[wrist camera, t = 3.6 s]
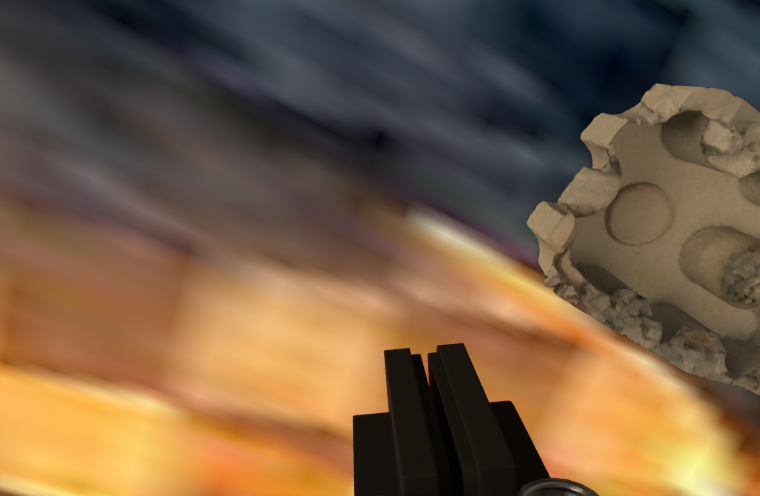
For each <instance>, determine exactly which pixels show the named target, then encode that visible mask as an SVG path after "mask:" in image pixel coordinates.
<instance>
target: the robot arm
mask: <svg viewBox="0 0 760 496" xmlns="http://www.w3.org/2000/svg"><path fill="white" fill-rule="evenodd" d="M384 357H385V370H386V383H387V395H388V408H389V412H385V413H375V414H365V415H354V416H353V451H354V496H599V495H598V494H597V493H596V492H595V491H593V490H591V489H590V488H588V487H586V486H584V485H583V484H580V483H577V482H574V481H571V480H568V479H560V478H550V476H549V474H548V472H547V470H546V468H545V466H544V464H543V462H542V460H541V458H540V456H539V454H538V452H537V450H536V448H535V446H534V444H533V442H532V440H531V438H530V436H529V434H528V432H527V430H526V428H525V426H524V424H523V422H522V420H521V418H520V416H519V414H518V412H517V410H516V408H515V406H514V405H513V403H512V402H511V401H499V402H489V401H488V399H487V396H486V394H485V392H484V389H483V387H482V385H481V383H480V380H479V378H478V376H477V373H476V371H475V369H474V366H473V364H472V362H471V360H470V357H469V355H468V353H467V350H466V348H465V346H464V344H463V343H458V344H448V345H437V352H435V353H428V373H429V385H428V381H427V377H426V373H425V369H424V366H423V362H422V358H421V355H420V354H413V355H411V352H410V348H405V349H394V350H384Z"/></svg>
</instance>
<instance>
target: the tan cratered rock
mask: <svg viewBox="0 0 760 496" xmlns="http://www.w3.org/2000/svg"><path fill="white" fill-rule="evenodd" d="M581 140H582V141H583V142H584V143H585V145H586V146H587V147H588V149H589V150H590V152H591V154H592V159H593V167H592V168H587V167H583V168H582V169H581V171H580V172H579V173H578V174H577V175H576V176H575V178H574V179H573V180H572V182H571V183H570V184H569V185H568V187H567V188H566V189H565V191H564V192H563V193H562V195H561V196H560V197H559V200H558V203H553V202H547V201H542V202H541V203H540V204H538V205H537V207H536V209H535V211H534V212H533V213H532V214H531V215H530V217H529V219H528V221H527V225H528V227H529V228H530V229H531V230H532V231H533V233H534V234H535V235H536V237H537V238H538V241H539V248H540V255H539V260H538V262H539V265H540V267H541V268H542V270H543V271H544V273H545V275H546V277H545V279H544V285H545V286H547V287H555V289H554V293H555V294H556V295H558V296H559V297H561V298H562V299H563V300H565V301H567V302H569V303H570V304H572V305H573V306H575V307H576V308H578V309H580V310H581V311H583V312H584V313H586V314H588V315H590V316H592V317H593V318H595V319H596V320H598V321H599V322H601V323H603V324H604V325H606V326H608V327H609V328H611V329H613V330H615V331H617V332H619V333H621V334H623V335H624V336H626V337H628V338H629V339H631V340H632V341H634V342H635V343H637V344H639V345H640V346H642V347H644V348H645V349H647V350H650V351H652V352H653V353H655V354H656V355H658V356H659V357H661V358H663V359H664V360H666V361H668V362H669V363H671V364H673V365H675V366H676V367H678V368H680V369H681V370H683V371H685V372H687V373H690V374H694V375H697V376H700V377H704V378H707V379H710V380H716V381H721V382H723V383H726V384H729V385H738V386H741V387H744V388H746V389H748V390H750V391H752V392H753V393H755V394H758V395H760V113H759V112H758V111H757V110H756V109H754V108H753V107H752V106H751V105H750V104H748V103H747V102H746V101H745V100H743V99H741V98H739V97H737V96H735V95H733V94H731V93H729V92H728V91H725V90H720V89H715V88H709V87H690V86H670V85H663V84H655V85H654V86H653V87H651V88H650V89H649V90H648V91H647V92H646V93H645V94H644V96H643V97H642V100H641V102H640V103H639V104H637V105H636V106H635V107H633V108H631V109H630V110H628V111H626V112H624V113H622V114H617V115H610V114H606V113H601V114H600V115H598V116H596V117H595V118H594V119H593V121H592V122H591V124H590V125H589V126H588V127H587V128H586V129H585V130H584V131H583V132H582V134H581Z"/></svg>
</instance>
